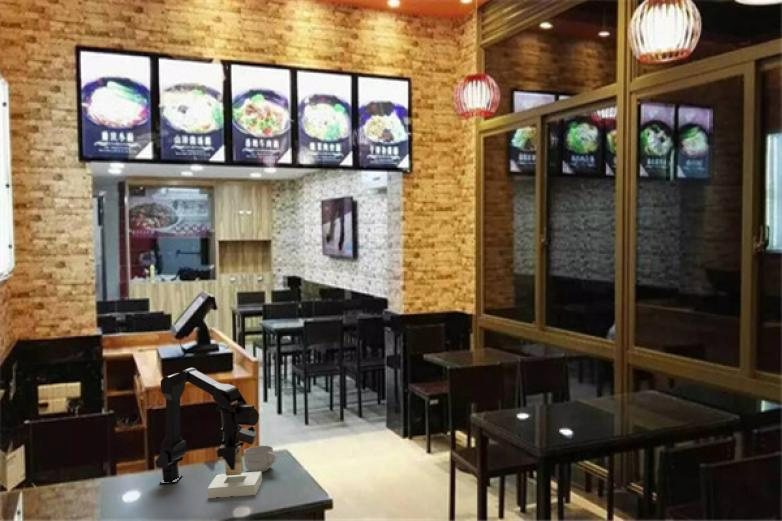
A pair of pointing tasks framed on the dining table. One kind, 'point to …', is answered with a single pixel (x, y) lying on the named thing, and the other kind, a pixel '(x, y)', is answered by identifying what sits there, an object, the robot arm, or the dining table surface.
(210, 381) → the robot arm
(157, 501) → the dining table surface
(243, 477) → the well block
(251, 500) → the dining table surface
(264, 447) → the teacup
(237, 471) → the wooden bar
